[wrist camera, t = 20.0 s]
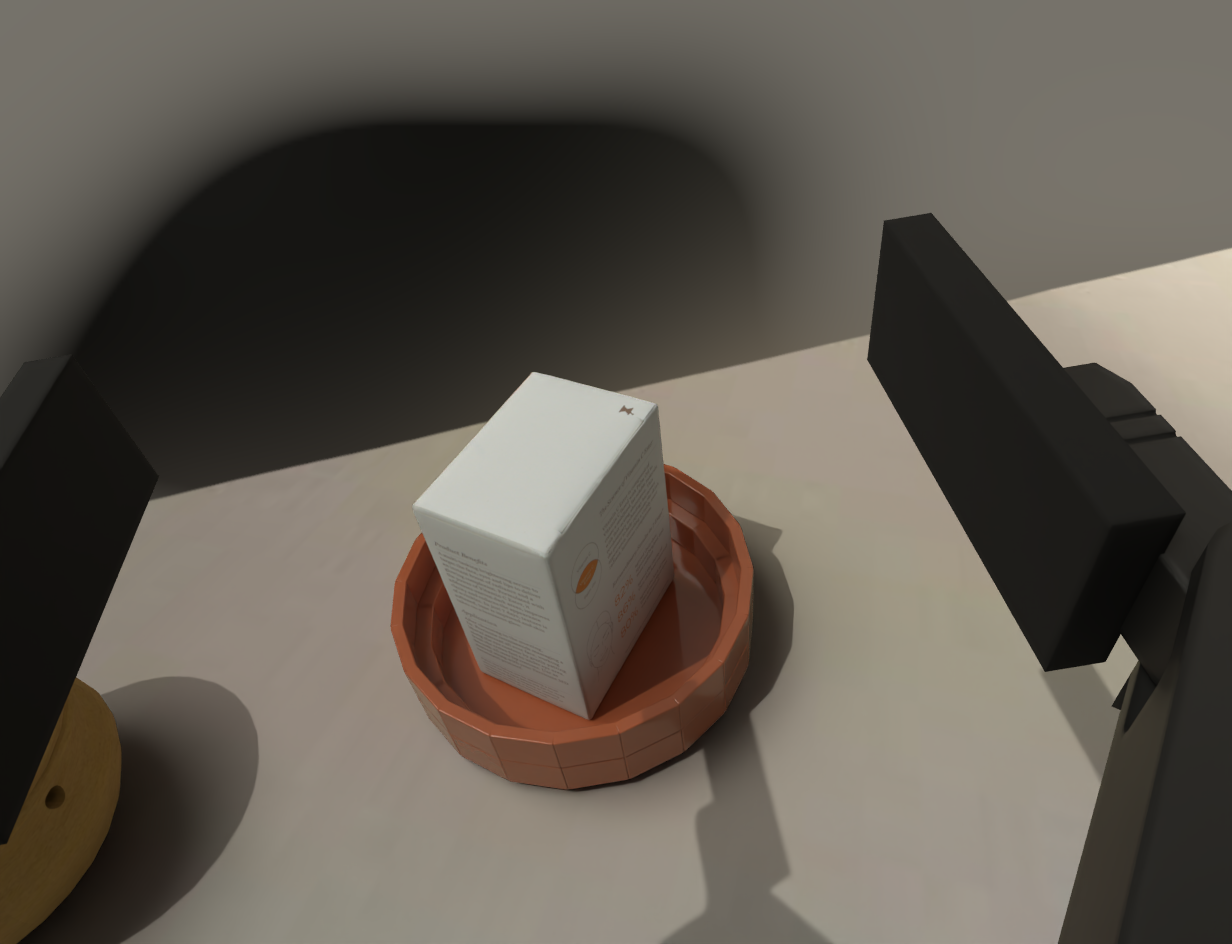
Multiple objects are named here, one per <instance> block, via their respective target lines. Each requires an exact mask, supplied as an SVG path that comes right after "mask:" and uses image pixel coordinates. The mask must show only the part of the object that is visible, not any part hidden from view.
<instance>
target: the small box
mask: <svg viewBox="0 0 1232 944" xmlns="http://www.w3.org/2000/svg"><path fill="white" fill-rule="evenodd" d="M412 509H413V512H414V515H415V517H416V519H417V521H418V524H419V526H420V529H421V531H422V533H423V536H424V538H425V540H426V543H427V545H428V547H429V550H430V552H431V554H432V557H433V559H434V561H435V564H436V566H437V569H438V571H439V573H440V576H441V578H442V581H443V583H444V586H445V588H446V590H447V592H448V595H449V597H450V600H451V602H452V604H453V606H454V609H455V611H456V614H457V616H458V618H459V621H460V623H461V626H462V628H463V630H464V633H465V635H466V637H467V640H468V642H469V644H470V647H471V649H472V651H473V654H474V656H475V658H476V661H477V663H478V666H479V668H480V670H481V671H482V672H483V673H485V674H487V675H490V676H492V677H494V678H496V679H499V680H501V681H503V682H505V683H507V684H509V685H512V686H514V687H516V688H518V689H520V690H522V691H525V692H527V693H529V694H531V695H534V696H536V697H538V698H540V699H542V700H545V701H547V702H549V703H551V704H554V705H556V706H558V707H560V708H563V709H565V710H567V711H569V712H572V713H574V714H576V715H579V716H581V717H583V718H585V719H588V720H590V719H592V717H593V716H594V714H595V712H596V710H597V708H598V707H599V705H600V703H601V701H602V700H603V698H604V696H605V694H606V693H607V691H608V689H609V688H610V686H611V684H612V682H613V681H614V679H615V677H616V676H617V674H618V672H619V671H620V669H621V667H622V665H623V664H624V662H625V660H626V658H627V657H628V655H629V653H630V652H631V650H632V648H633V647H634V645H635V643H636V641H637V640H638V638H639V636H640V635H641V633H642V631H643V629H644V628H645V626H646V624H647V623H648V621H649V619H650V617H651V616H652V614H653V612H654V610H655V609H656V607H657V605H658V604H659V602H660V600H661V598H662V597H663V595H664V593H665V592H666V590H667V588H668V587H669V585H670V583H671V582H672V580H673V578H674V567H673V556H672V543H671V533H670V524H669V512H668V502H667V493H666V483H665V473H664V463H663V454H662V443H661V433H660V423H659V410H658V405H657V404H655V403H652V402H649V401H645V400H641V399H637V398H634V397H630V396H626V395H622V394H619V393H615V392H611V391H607V390H603V389H599V388H595V387H591V386H588V385H583V384H580V383H576V382H572V381H568V380H565V379H561V378H557V377H553V376H549V375H545V374H540V373H537V372H532V373H531V374H530V375H529V376H528V377H527V379H526V380H525V381H524V382H523V383H522V384H521V385H520V386H519V388H518V389H517V390H516V391H515V392H514V393H513V394H512V395H511V397H510V398H509V399H508V400H507V401H506V402H505V403H504V404H503V406H502V407H501V408H500V409H499V410H498V411H497V412H496V413H495V414H494V415H493V417H492V418H491V419H490V420H489V421H488V422H487V423H486V424H485V425H484V427H483V428H482V429H481V430H480V431H479V432H478V433H477V434H476V435H475V436H474V437H473V439H472V440H471V441H470V442H469V443H468V444H467V445H466V447H465V448H464V449H463V450H462V451H461V452H460V453H459V454H458V455H457V456H456V457H455V459H454V460H453V461H452V462H451V463H450V464H449V465H448V466H447V467H446V469H445V470H444V471H443V472H442V473H441V474H440V475H439V476H438V477H437V479H436V480H435V481H434V482H433V483H432V484H431V485H430V486H429V487H428V488H427V490H426V491H425V492H424V493H423V494H422V495H421V496H420V497H419V498H418V499H417V500H416V501H415V502H414V504H413V505H412Z"/></svg>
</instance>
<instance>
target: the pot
mask: <svg viewBox="0 0 1232 944" xmlns="http://www.w3.org/2000/svg"><path fill="white" fill-rule="evenodd" d="M120 778H121V745H120V740H119V736H118V731H117V727H116V722H115V719H114V716H113V714H112V712H111V711H110V709H109V708H108V706H107V705H106V703H105V702H104V700H103V699H102V697H101V696H100V694H99V693H98V692H97V691H96V690H94V689H93V688H91V687H90V686H88V685H87V684H85V683H84V682H82V681H81V680H79V679H78V678H75V681H74V683H73V685H72V688H71V690H70V693H69V695H68V697H67V700H66V702H65V705H64V707H63V710H62V712H61V714H60V717H59V719H58V722H57V724H56V726H55V729H54V731H53V734H52V736H51V739H50V741H49V743H48V746H47V748H46V751H45V753H44V755H43V758H42V760H41V763H40V765H39V768H38V770H37V772H36V775H35V777H34V780H33V782H32V784H31V787H30V789H29V792H28V794H27V797H26V799H25V801H24V804H23V806H22V809H21V811H20V813H19V816H18V818H17V821H16V823H15V826H14V828H13V830H12V833H11V835H10V838H9V840H8V842H7V844H3V845H0V944H17V943H18V942H19V941H20V940H22V939H23V938H24V937H25V936H26V935H28V934H29V933H30V932H31V931H33V930H34V929H35V928H36V927H37V926H39V925H40V924H41V923H42V922H44V920H45V919H46V918H47V917H48V916H49V915H50V914H51V913H52V912H53V911H54V910H55V909H56V908H57V907H58V906H59V904H60V903H61V902H62V901H63V900H64V899H65V898H66V897H67V896H68V895H69V894H70V893H71V891H72V890H73V889H74V887H75V886H76V885H77V883H78V882H79V880H80V879H81V878H82V876H83V875H84V873H85V872H86V871H87V869H88V868H89V867H90V865H91V864H92V862H93V860H94V859H95V857H96V855H97V853H98V851H99V849H100V847H101V845H102V843H103V841H104V839H105V837H106V835H107V833H108V831H109V828H110V825H111V821H112V818H113V815H114V811H115V808H116V805H117V801H118V798H119V792H120Z"/></svg>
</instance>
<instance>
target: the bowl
mask: <svg viewBox="0 0 1232 944" xmlns="http://www.w3.org/2000/svg"><path fill="white" fill-rule="evenodd" d="M664 473H665V483H666V493H667V502H668V512H669V524H670V533H671V543H672V556H673V567H674V578H673V580H672V582H671V583H670V585H669V587H668V588H667V590H666V592H665V593H664V595H663V597H662V598H661V600H660V602H659V604H658V605H657V607H656V609H655V610H654V612H653V614H652V616H651V617H650V619H649V621H648V623H647V624H646V626H645V628H644V629H643V631H642V633H641V635H640V636H639V638H638V640H637V641H636V643H635V645H634V647H633V648H632V650H631V652H630V653H629V655H628V657H627V658H626V660H625V662H624V664H623V665H622V667H621V669H620V671H619V672H618V674H617V676H616V677H615V679H614V681H613V682H612V684H611V686H610V688H609V689H608V691H607V693H606V694H605V696H604V698H603V700H602V701H601V703H600V705H599V707H598V708H597V710H596V712H595V714H594V716H593V717H592V719H590V720H588V719H585V718H583V717H581V716H579V715H576V714H574V713H572V712H569V711H567V710H565V709H563V708H560V707H558V706H556V705H554V704H551V703H549V702H547V701H545V700H542V699H540V698H538V697H536V696H534V695H531V694H529V693H527V692H525V691H522V690H520V689H518V688H516V687H514V686H512V685H509V684H507V683H505V682H503V681H501V680H499V679H496V678H494V677H492V676H490V675H487V674H485V673H483V672H482V671H481V670H480V668H479V666H478V663H477V661H476V658H475V656H474V654H473V651H472V649H471V647H470V644H469V642H468V640H467V637H466V635H465V633H464V630H463V628H462V626H461V623H460V621H459V618H458V616H457V614H456V611H455V609H454V606H453V604H452V602H451V600H450V597H449V595H448V592H447V590H446V588H445V586H444V583H443V581H442V578H441V576H440V573H439V571H438V569H437V566H436V564H435V561H434V559H433V557H432V554H431V552H430V550H429V547H428V545H427V543H426V540H425V538H424V536H423V533H421V534H420V535H419V536H418V537H417V538H416V540H415V541H414V543H413V545H412V547H411V550H410V552H409V554H408V556H407V558H406V560H405V562H404V564H403V566H402V568H401V570H400V572H399V575H398V577H397V579H396V582H395V587H394V597H393V607H392V617H391V631H392V635H393V638H394V641H395V644H396V647H397V651H398V654H399V657H400V660H401V663H402V667H403V670H404V672H405V674H406V676H407V678H408V680H409V682H410V684H411V686H412V687H413V689H414V691H415V693H416V695H417V697H418V699H419V701H420V703H421V704H422V706H423V708H424V710H425V712H426V714H427V716H428V717H429V719H430V720H431V721H432V723H433V724H434V725H435V726H436V727H437V728H438V730H439V731H440V732H441V733H442V734H443V735H444V737H445V738H446V739H447V740H448V741H449V742H450V744H451V745H452V746H453V747H454V748H455V749H456V751H457V752H458V753H459V754H460V755H462V756H463V757H465V758H467V759H468V760H470V761H472V762H474V763H476V764H478V765H480V766H482V767H484V768H486V769H487V770H489V771H491V772H493V773H495V774H497V775H499V776H501V777H503V778H505V779H506V780H509V781H512V782H518V783H525V784H532V785H539V786H545V787H552V788H559V789H566V790H568V789H574V788H580V787H586V786H592V785H598V784H605V783H611V782H617V781H623V780H628V779H631V778H633V777H635V776H637V775H639V774H641V773H643V772H645V771H647V770H649V769H651V768H653V767H655V766H657V765H659V764H661V763H663V762H665V761H667V760H669V759H671V758H673V757H675V756H677V755H679V754H681V753H683V752H684V751H686V750H687V749H688V748H689V747H690V746H691V745H692V744H693V743H694V742H695V741H696V740H697V739H698V738H699V737H700V736H701V735H702V734H703V733H704V732H705V731H706V730H707V729H708V728H709V727H710V726H711V725H712V724H714V723H715V722H716V721H717V720H718V719H719V718H720V717H721V716H722V715H723V714H724V712H725V711H726V710H727V708H728V706H729V704H730V702H731V700H732V698H733V696H734V694H735V692H736V690H737V688H738V686H739V684H740V682H741V680H742V678H743V676H744V674H745V672H746V670H747V668H748V664H749V657H750V647H751V636H752V626H753V579H754V569H753V565H752V561H751V558H750V555H749V552H748V548H747V545H746V542H745V539H744V536H743V532H742V529H741V527H740V525H739V523H738V522H737V521H736V520H735V518H734V517H733V516H732V515H731V513H730V512H729V511H728V510H727V508H726V507H725V506H724V505H723V504H722V502H721V501H720V500H719V499H718V497H717V496H716V495H715V494H714V492H712V491H711V490H710V489H708V488H706V487H705V486H703V485H702V484H700V483H699V482H697V481H695V480H694V479H692V478H691V477H689V476H688V475H686V474H684V473H683V472H681V471H680V470H678V469H677V468H674V467H672V466H669V465H665V464H664Z"/></svg>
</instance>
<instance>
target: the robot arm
mask: <svg viewBox="0 0 1232 944" xmlns="http://www.w3.org/2000/svg"><path fill="white" fill-rule="evenodd" d="M867 360H868V362H869V364H870V365H871V367H872V369H873V371H874V372H875V374H876V376H877V378H878V379H879V381H880V383H881V385H882V386H883V388H884V390H885V392H886V393H887V395H888V397H889V399H890V400H891V402H892V404H893V406H894V407H895V409H896V411H897V413H898V414H899V416H900V418H901V420H902V421H903V423H904V425H905V427H906V429H907V430H908V432H909V434H910V436H911V437H912V439H913V441H914V443H915V444H916V446H917V448H918V450H919V451H920V453H921V455H922V457H923V458H924V460H925V462H926V464H927V465H928V467H929V469H930V471H931V472H932V474H933V476H934V478H935V479H936V481H937V483H938V485H939V487H940V488H941V490H942V492H943V494H944V495H945V497H946V499H947V501H948V502H949V504H950V506H951V508H952V509H953V511H954V513H955V515H956V516H957V518H958V520H959V522H960V523H961V525H962V527H963V529H964V530H965V532H966V534H967V536H968V537H969V539H970V541H971V543H972V544H973V546H974V548H975V550H976V552H977V553H978V555H979V557H980V559H981V560H982V562H983V564H984V566H985V567H986V569H987V571H988V573H989V574H990V576H991V578H992V580H993V581H994V583H995V585H996V587H997V588H998V590H999V592H1000V594H1001V595H1002V597H1003V599H1004V601H1005V602H1006V604H1007V606H1008V608H1009V609H1010V611H1011V613H1012V615H1013V617H1014V618H1015V620H1016V622H1017V624H1018V625H1019V627H1020V629H1021V631H1022V632H1023V634H1024V636H1025V638H1026V639H1027V641H1028V643H1029V645H1030V646H1031V648H1032V650H1033V652H1034V653H1035V655H1036V657H1037V659H1038V660H1039V662H1040V664H1041V666H1042V667H1043V669H1044V671H1045V672H1047V671H1053V670H1059V669H1065V668H1071V667H1077V666H1083V665H1090V664H1096V663H1102V662H1106V660H1107V658H1108V656H1109V654H1110V653H1111V651H1112V649H1113V647H1114V645H1115V643H1116V641H1117V640H1118V638H1119V636H1120V634H1121V635H1122V636H1123V638H1124V639H1125V641H1126V642H1127V644H1128V645H1129V647H1130V648H1131V650H1132V651H1133V653H1134V654H1135V656H1136V657H1137V659H1138V660H1139V661H1138V662H1137V664H1136V666H1135V667H1134V669H1133V671H1132V673H1131V674H1130V676H1129V678H1128V679H1127V681H1126V683H1125V684H1124V686H1123V688H1122V689H1121V691H1120V693H1119V694H1118V696H1117V698H1116V699H1115V701H1114V703H1113V705H1112V707H1115V708H1117V709H1119V710H1121V712H1120V715H1119V719H1118V723H1117V726H1116V730H1115V734H1114V738H1113V741H1112V745H1111V749H1110V752H1109V756H1108V760H1107V763H1106V767H1105V771H1104V775H1103V778H1102V782H1101V786H1100V789H1099V793H1098V797H1097V801H1096V804H1095V808H1094V812H1093V815H1092V819H1091V823H1090V826H1089V830H1088V834H1087V838H1086V841H1085V845H1084V849H1083V852H1082V856H1081V860H1080V864H1079V867H1078V871H1077V875H1076V878H1075V882H1074V886H1073V889H1072V893H1071V897H1070V901H1069V904H1068V908H1067V912H1066V915H1065V919H1064V923H1063V927H1062V930H1061V934H1060V938H1059V941H1058V944H1232V491H1231V490H1230V489H1229V488H1228V487H1227V485H1226V484H1225V483H1224V482H1223V481H1222V480H1221V479H1220V478H1219V477H1218V476H1217V475H1216V474H1215V473H1214V471H1213V470H1212V469H1211V468H1210V467H1209V466H1208V465H1207V464H1206V463H1205V462H1204V461H1203V460H1202V459H1201V457H1200V456H1199V455H1198V454H1197V453H1196V452H1195V451H1194V450H1193V449H1192V448H1191V447H1190V446H1189V445H1188V443H1187V442H1186V441H1185V440H1184V439H1183V438H1182V437H1181V436H1180V437H1177V436H1176V433H1175V432H1176V431H1175V430H1174V428H1173V427H1172V426H1171V425H1170V424H1169V423H1168V422H1167V421H1166V420H1165V419H1164V418H1163V417H1162V416H1161V415H1157V414H1156V409H1155V408H1154V407H1153V406H1152V405H1151V404H1150V403H1149V402H1148V400H1147V399H1146V398H1145V397H1144V396H1143V395H1142V394H1141V393H1140V392H1139V391H1138V390H1137V389H1136V388H1135V386H1134V385H1133V384H1132V383H1130V382H1128V381H1127V380H1125V379H1123V378H1121V377H1120V376H1118V375H1116V374H1114V373H1113V372H1111V371H1109V370H1107V369H1105V368H1104V367H1102V366H1100V365H1098V364H1097V363H1090V364H1084V365H1078V366H1072V367H1066V368H1063V367H1062V366H1061V365H1060V364H1059V363H1058V361H1057V360H1056V359H1055V358H1054V357H1053V355H1052V354H1051V353H1050V352H1049V351H1048V350H1047V348H1046V347H1045V346H1044V345H1043V344H1042V343H1041V341H1040V340H1039V339H1038V338H1037V337H1036V335H1035V334H1034V333H1033V332H1032V331H1031V330H1030V328H1029V327H1028V326H1027V325H1026V324H1025V323H1024V321H1023V320H1022V319H1021V318H1020V317H1019V316H1018V314H1017V313H1016V312H1015V311H1014V310H1013V308H1012V307H1011V306H1010V305H1009V304H1008V303H1007V301H1006V300H1005V299H1004V298H1003V297H1002V296H1001V294H1000V293H999V292H998V291H997V290H996V289H995V287H994V286H993V285H992V284H991V283H990V281H989V280H988V279H987V278H986V277H985V276H984V274H983V273H982V272H981V271H980V270H979V268H978V267H977V266H976V265H975V264H974V263H973V261H972V260H971V259H970V258H969V257H968V256H967V254H966V253H965V252H964V251H963V250H962V248H961V247H960V246H959V245H958V244H957V243H956V241H955V240H954V239H953V238H952V237H951V236H950V234H949V233H948V232H947V231H946V230H945V228H944V227H943V226H942V225H941V224H940V223H939V221H938V220H937V219H936V218H935V217H934V216H933V214H932V213H928V214H922V215H917V216H910V217H904V218H898V219H892V220H886V221H884V225H883V234H882V242H881V250H880V259H879V267H878V275H877V283H876V292H875V301H874V309H873V317H872V325H871V333H870V342H869V350H868V358H867ZM158 477H159V476H158V475H157V473H156V472H155V471H154V469H153V468H152V466H151V465H150V464H149V462H148V461H147V459H146V458H145V456H144V455H143V454H142V452H141V451H140V449H138V447H137V445H136V444H135V442H134V441H133V440H132V439H131V437H130V435H129V434H128V433H127V431H126V430H125V428H124V427H123V426H122V424H121V423H120V421H119V420H118V419H117V417H116V416H115V415H114V413H113V412H112V410H111V409H110V407H109V406H108V405H107V403H106V402H105V400H104V399H103V398H102V396H101V395H100V393H99V392H98V390H97V389H96V388H95V386H94V385H93V383H92V382H91V381H90V379H89V378H88V376H87V375H86V374H85V372H84V371H83V369H82V368H81V367H80V365H79V364H78V363H77V361H76V360H75V358H74V357H73V355H66V356H60V357H54V358H48V359H42V360H36V361H30V362H25V363H24V364H23V365H22V367H21V368H20V370H19V371H18V372H17V374H16V375H15V377H14V378H13V380H12V381H11V383H10V384H9V386H8V387H7V389H6V390H5V392H4V393H3V394H2V396H1V397H0V845H3V844H7V842H8V840H9V838H10V835H11V833H12V830H13V828H14V826H15V823H16V821H17V818H18V816H19V813H20V811H21V809H22V806H23V804H24V801H25V799H26V797H27V794H28V792H29V789H30V787H31V784H32V782H33V780H34V777H35V775H36V772H37V770H38V768H39V765H40V763H41V760H42V758H43V755H44V753H45V751H46V748H47V746H48V743H49V741H50V739H51V736H52V734H53V731H54V729H55V726H56V724H57V722H58V719H59V717H60V714H61V712H62V710H63V707H64V705H65V702H66V700H67V697H68V695H69V693H70V690H71V688H72V685H73V683H74V681H75V678H76V676H77V673H78V671H79V668H80V666H81V664H82V661H83V659H84V656H85V654H86V652H87V649H88V647H89V644H90V642H91V639H92V637H93V635H94V632H95V630H96V627H97V625H98V623H99V620H100V618H101V615H102V613H103V610H104V608H105V606H106V603H107V601H108V598H109V596H110V594H111V591H112V589H113V586H114V584H115V581H116V579H117V577H118V574H119V572H120V569H121V567H122V565H123V562H124V560H125V557H126V555H127V552H128V550H129V548H130V545H131V543H132V540H133V538H134V536H135V533H136V531H137V528H138V526H139V523H140V521H141V519H142V516H143V514H144V511H145V509H146V506H147V504H148V502H149V499H150V497H151V494H152V492H153V490H154V487H155V485H156V482H157V480H158Z"/></svg>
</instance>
